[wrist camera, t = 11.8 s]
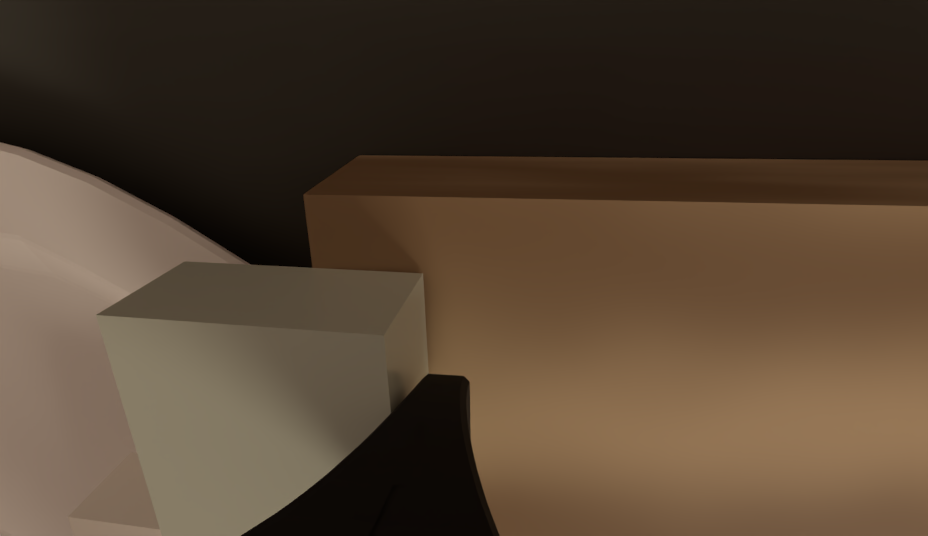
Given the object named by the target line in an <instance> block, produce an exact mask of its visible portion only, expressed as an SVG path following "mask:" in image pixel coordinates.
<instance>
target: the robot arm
mask: <svg viewBox="0 0 928 536" xmlns="http://www.w3.org/2000/svg"><path fill="white" fill-rule="evenodd" d="M241 536H500V535H499V533H498V530H497V528H496V525H495V522H494V520H493V517H492V514H491V512H490V509H489V506H488V503H487V500H486V497H485V494H484V491H483V488H482V484H481V481H480V477H479V474H478V470H477V467H476V463H475V459H474V454H473V449H472V444H471V431H470V382H469V381H468V380H467V379H466V378H465V376H458V375H442V374H427V375H426V376H425V377H424V378H423V379H422V380H421V381H420V382H419V383H418V384H417V385H416V386H415V388H414V389H413V390H412V391H411V392H410V393H409V394H408V395H407V396H406V398H405V399H404V400H403V401H402V402H401V403H400V404H399V405H398V406H397V407H396V408H395V410H394V411H393V412H392V413H391V414H390V415H389V416H388V417H387V418H386V419H385V420H384V421H383V422H382V423H381V424H380V425H379V426H378V427H377V428H376V429H375V430H374V431H373V432H372V433H371V434H370V435H369V436H368V437H367V438H366V439H365V440H364V441H363V442H362V443H361V444H360V445H359V446H358V447H357V448H355V449H354V450H353V451H352V452H351V453H350V454H349V455H348V456H347V457H345V458H344V459H343V460H342V461H341V462H340V463H339V464H338V465H337V466H335V467H334V468H333V469H332V470H331V471H330V472H329V473H327V474H326V475H325V476H324V477H323V478H321V479H320V480H319V481H318V482H317V483H315V484H314V485H313V486H312V487H310V488H309V489H308V490H307V491H305V492H304V493H303V494H301V495H300V496H299V497H297V498H296V499H295V500H293V501H292V502H291V503H289V504H288V505H287V506H285V507H284V508H282V509H281V510H279V511H278V512H277V513H275V514H274V515H272V516H271V517H269V518H267V519H266V520H264V521H263V522H261V523H260V524H258V525H256V526H255V527H253V528H252V529H250V530H249V531H247V532H246V533H244V534H242V535H241Z"/></svg>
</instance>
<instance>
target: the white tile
mask: <svg viewBox="0 0 928 536" xmlns="http://www.w3.org/2000/svg"><path fill="white" fill-rule="evenodd" d="M68 519H69V522H70V526H71V529H72V532H73V535H74V536H162V534H161V531H160V528H159V524H158V521H157V518H156V514H155V511H154V508H153V504H152V501H151V498H150V494H149V491H148V488H147V484H146V481H145V478H144V474H143V471H142V468H141V464H140V461H139V458H138V454H137V453H134V452H130V453H129V454H128V455H127V457H126V458H125V459H124V460H123V461H122V462H121V463H120V464H119V465H118V466H117V467H116V468H115V469H114V470H113V471H112V472H111V473H110V474H109V475H108V476H107V477H106V478H105V479H104V480H103V481H102V482H101V483H100V484H99V485H98V486H97V487H96V488H95V489H94V490H93V491H92V492H91V493H90V495H89V496H88V497H87V498H86V499H85V500H84V501H83V502H82V503H81V504H80V505H79V506H78V507H77V508H76V509H75V510H74V511H73V512H72V513H71V514H70V515H69V516H68Z"/></svg>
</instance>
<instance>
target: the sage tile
mask: <svg viewBox="0 0 928 536" xmlns="http://www.w3.org/2000/svg"><path fill="white" fill-rule="evenodd" d="M96 317H97V321H98V324H99V327H100V331H101V334H102V337H103V341H104V344H105V347H106V351H107V354H108V357H109V361H110V364H111V367H112V371H113V374H114V377H115V381H116V384H117V387H118V391H119V394H120V397H121V401H122V404H123V407H124V411H125V414H126V418H127V421H128V424H129V428H130V431H131V434H132V438H133V441H134V444H135V448H136V451H137V454H138V458H139V461H140V464H141V468H142V471H143V474H144V478H145V481H146V484H147V488H148V491H149V494H150V498H151V501H152V504H153V508H154V511H155V514H156V518H157V521H158V524H159V528H160V531H161V534H162V536H241V535H242V534H244V533H246V532H247V531H249V530H250V529H252V528H253V527H255V526H256V525H258V524H260V523H261V522H263V521H264V520H266V519H267V518H269V517H271V516H272V515H274V514H275V513H277V512H278V511H279V510H281V509H282V508H284V507H285V506H287V505H288V504H289V503H291V502H292V501H293V500H295V499H296V498H297V497H299V496H300V495H301V494H303V493H304V492H305V491H307V490H308V489H309V488H310V487H312V486H313V485H314V484H315V483H317V482H318V481H319V480H320V479H321V478H323V477H324V476H325V475H326V474H327V473H329V472H330V471H331V470H332V469H333V468H334V467H335V466H337V465H338V464H339V463H340V462H341V461H342V460H343V459H344V458H345V457H347V456H348V455H349V454H350V453H351V452H352V451H353V450H354V449H355V448H357V447H358V446H359V445H360V444H361V443H362V442H363V441H364V440H365V439H366V438H367V437H368V436H369V435H370V434H371V433H372V432H373V431H374V430H375V429H376V428H377V427H378V426H379V425H380V424H381V423H382V422H383V421H384V420H385V419H386V418H387V417H388V416H389V415H390V414H391V413H392V412H393V411H394V410H395V408H396V407H397V406H398V405H399V404H400V403H401V402H402V401H403V400H404V399H405V398H406V396H407V395H408V394H409V393H410V392H411V391H412V390H413V389H414V388H415V386H416V385H417V384H418V383H419V382H420V381H421V380H422V379H423V378H424V377H425V376H426V375H427V374H429V370H428V353H427V335H426V317H425V300H424V282H423V273H406V272H386V271H366V270H346V269H326V268H307V267H287V266H267V265H247V264H227V263H207V262H187V261H184V262H183V263H181V264H179V265H178V266H176V267H174V268H173V269H171V270H169V271H168V272H166V273H164V274H163V275H161V276H160V277H158V278H156V279H155V280H153V281H151V282H150V283H148V284H146V285H145V286H143V287H141V288H140V289H138V290H136V291H135V292H133V293H131V294H130V295H128V296H126V297H125V298H123V299H121V300H120V301H118V302H117V303H115V304H113V305H112V306H110V307H108V308H107V309H105V310H103V311H102V312H100V313H98V314H97V315H96Z"/></svg>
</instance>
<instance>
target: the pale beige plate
mask: <svg viewBox="0 0 928 536" xmlns="http://www.w3.org/2000/svg"><path fill="white" fill-rule="evenodd" d="M184 261H187V262H207V263H227V264H247V265H251V264H249V263H247V262H246V261H244V260H243V259H241V258H239V257H238V256H236V255H235V254H233V253H231V252H230V251H228V250H227V249H225V248H224V247H222V246H220V245H219V244H217V243H216V242H214V241H212V240H211V239H209V238H208V237H206V236H204V235H203V234H201V233H200V232H198V231H196V230H195V229H193V228H192V227H190V226H188V225H187V224H185V223H184V222H182V221H180V220H179V219H177V218H175V217H173V216H172V215H170V214H168V213H166V212H164V211H162V210H160V209H158V208H156V207H155V206H153V205H151V204H149V203H147V202H145V201H143V200H141V199H139V198H137V197H136V196H134V195H132V194H130V193H128V192H126V191H124V190H122V189H120V188H119V187H117V186H115V185H113V184H111V183H109V182H107V181H105V180H103V179H101V178H100V177H97V176H95V175H92V174H90V173H87V172H85V171H82V170H80V169H77V168H75V167H72V166H70V165H67V164H64V163H62V162H59V161H57V160H54V159H52V158H49V157H47V156H44V155H42V154H39V153H37V152H34V151H32V150H29V149H25V148H21V147H17V146H13V145H10V144H6V143H2V142H0V536H74V535H73V532H72V529H71V526H70V522H69V519H68V516H69V515H70V514H71V513H72V512H73V511H74V510H75V509H76V508H77V507H78V506H79V505H80V504H81V503H82V502H83V501H84V500H85V499H86V498H87V497H88V496H89V495H90V493H91V492H92V491H93V490H94V489H95V488H96V487H97V486H98V485H99V484H100V483H101V482H102V481H103V480H104V479H105V478H106V477H107V476H108V475H109V474H110V473H111V472H112V471H113V470H114V469H115V468H116V467H117V466H118V465H119V464H120V463H121V462H122V461H123V460H124V459H125V458H126V457H127V455H128V454H129V453H130V452H134V453H137V451H136V448H135V444H134V441H133V438H132V434H131V431H130V428H129V424H128V421H127V418H126V414H125V411H124V407H123V404H122V401H121V397H120V394H119V391H118V387H117V384H116V381H115V377H114V374H113V371H112V367H111V364H110V361H109V357H108V354H107V351H106V347H105V344H104V341H103V337H102V334H101V331H100V327H99V324H98V321H97V317H96V315H97V314H98V313H100V312H102V311H103V310H105V309H107V308H108V307H110V306H112V305H113V304H115V303H117V302H118V301H120V300H121V299H123V298H125V297H126V296H128V295H130V294H131V293H133V292H135V291H136V290H138V289H140V288H141V287H143V286H145V285H146V284H148V283H150V282H151V281H153V280H155V279H156V278H158V277H160V276H161V275H163V274H164V273H166V272H168V271H169V270H171V269H173V268H174V267H176V266H178V265H179V264H181V263H183V262H184Z"/></svg>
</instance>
